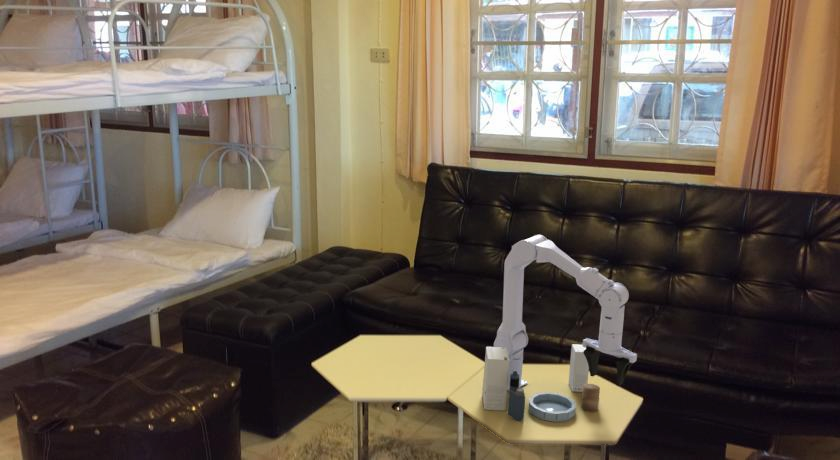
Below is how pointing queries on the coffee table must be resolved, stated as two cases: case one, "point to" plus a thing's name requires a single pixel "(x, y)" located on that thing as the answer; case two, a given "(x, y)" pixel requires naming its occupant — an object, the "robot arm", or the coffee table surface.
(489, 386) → the skincare box
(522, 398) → the vaping device
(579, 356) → the skincare box
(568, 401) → the round tray
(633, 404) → the coffee table surface
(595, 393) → the brown cylinder
